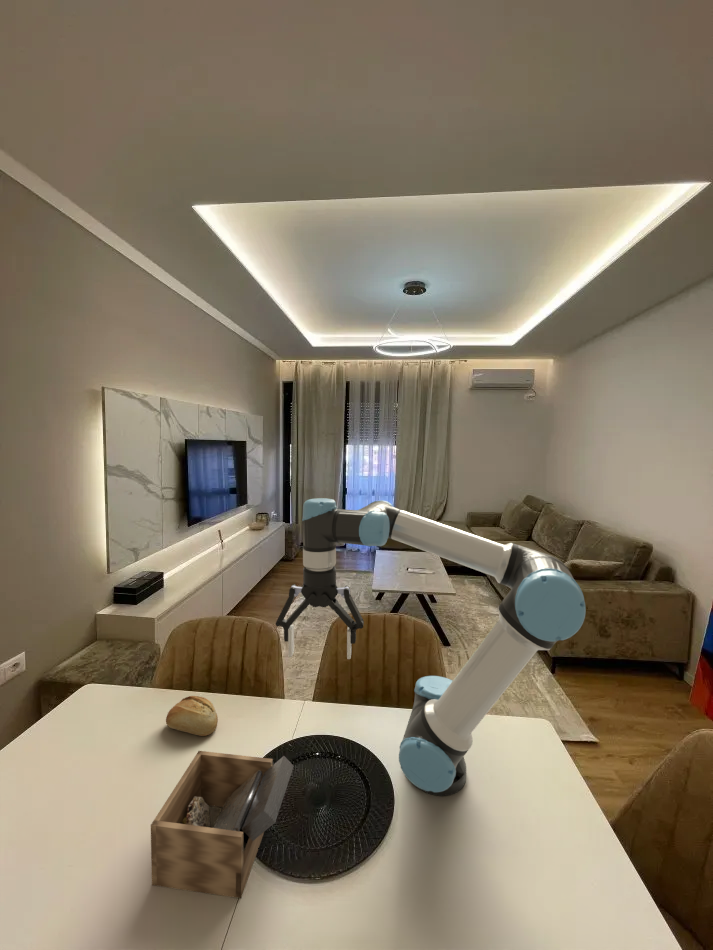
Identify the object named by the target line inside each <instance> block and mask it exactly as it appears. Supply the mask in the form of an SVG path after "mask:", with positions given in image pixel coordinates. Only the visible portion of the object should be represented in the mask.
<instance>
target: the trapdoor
mask: <svg viewBox="0 0 713 950" xmlns="http://www.w3.org/2000/svg"><path fill="white" fill-rule="evenodd" d="M294 768H295V767H294V764H292V762H291V761H290V760H289V759H288V758H287V757H286V756H285V755H283V756H282V757H281V758H280V759H278V760H277V761H276V762H275V763H274V764H273V766H271V767H270V768H269V769H268V770H267V771H266V772H265V773H264V775H263V778H262V780H261V783H260V785H259V788H258V790H257V792H256V789H257V787H258V784H259V782H260V779H261V777H262V774H263V773H262V771H260V770H258V771H257V772H256V773H255V774H254V775H253V776H251V777H250V778H249V779H248V780H247V781H246V782H245V783H243V784H242V785H241V786H240V787H239V788H238V789H236V790H235V791H234V792H233V793H232V794H231V795H230V796H228V798H227V800H226V802H225V804H224V806H223V807H221V811H220V812H219V815H218V816H217V818H216V822H215V823H214V826H213V827H212V828H217V829H225V830H232V831H240V830H242V832H243V833H245V834H246V836H248V839H249V838H250V839H251V840H252V841H254V840H255V839H256V838H257V837H258V836H260V835H261V834H262V833H263V832H264V833H265V831H267V830H268V829H270V828H271V826H273V825H274V824H275V823H276V821H277V818H278V815H279V812H280V809H281V806H282V802H283V800H284V797H285V793H286V792H287V787H288V784H289V781H290V779H291V775H292V773H293V769H294ZM255 792H256V795H255V797H254V800H253V802H252V805H251V807H250V810H248V809H249V806H250V804H251V801H252V799H253V796H254V794H255Z"/></svg>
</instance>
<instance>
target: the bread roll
mask: <svg viewBox="0 0 713 950" xmlns="http://www.w3.org/2000/svg"><path fill="white" fill-rule="evenodd" d="M218 721H219V719H218V714H217V711H216V709H215V706H214V704H213V703H212V701H210V700H209V699H207V698H206V697H203V696H199V695H198V696H197V695H190V696H189V695H188V696H186V697H184V698H182V699H181V700H180V701H179V702H177V703H175V705H174V706H172V707H171V709H169V711H168V712H167V715H166V717H165V722H166V725H167V726H168V728H170V729H174V730H175V731H179V732H185V733H189V734H192V735H195V736H201V737H206V736H209V735H212V734H213V733H214V732H215V731H216V730H217V728H218V727H217V726H218Z"/></svg>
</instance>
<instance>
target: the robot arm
mask: <svg viewBox="0 0 713 950" xmlns="http://www.w3.org/2000/svg"><path fill="white" fill-rule="evenodd" d="M301 521H302V538H303V539H302V541H303V542H302V543H303V544H302V565H303V566H304V567H303V568H302V581H303V582H302V583H303V584H302V586H297V585H296V584H295V583H294V584H293V583H292V584H291V587H290V588H289V589H288V590H289V591H288V597H287V600H286V601H285V603H284V606H283V607H282V610H281V612H280V613H279V616H278V617H277V620H276V621H275V626H276V627H282V628H283V641H284V642H286V643H288V647H287V648H288V655H287V656H288V658H293V654H294V652H295V624H293V623H295V621H296V620H297V618H298V617H300V615H301V614H302V613H303V612H305V610H306V609H307V608H308V607H309V606H311V607H312V608H319V607H320V608H327V607H328V606H329V608H330V609H331V610H332V611H334V612H335V613H336V615H337V616H338V617H339V619H341V620H342V622H343V623H344V624H345V625H346V626H347V629H346V630H347V631H346V658H347V660H351V658H352V645H353V644H354V645H355V644H356V641H357V630H358V629H363V628H364V622H365V621H364V619H363V617H362V615H361V612H360V610H359V609H358V607H357V605H356V603H355V601H354V598H353V597H352V595H351V588H350V586H349V585H348V584H347V585H345V586H343V587H338V586H337V568H336V564H337V544H347V545H355V546H356V545H357V546H366V547H382V546H385V545H386V543H387V541H388V539H391V540H393V541H396V542H399V543H403V544H405V545H408V546H411V547H413V548H416V549H418V550H421V551H424V552H427V553H429V554H432V555H434V556H437V557H440V558H443V559H444V560H445V559H446V560H448V561H451V562H454V563H457V564H458V565H461V566H465V567H467V568H470V569H473V570H475V571H478V572H481V573H483V574H486V575H488V576H492V577H493V578H494V579H495V580H496V582H497V583H498V584H500V585H503V586H506V587H508V588H509V589H510V590H509V592H508V593H507V595H506V596H505V597H504V598H503V599H502V601H501V603H500V604H499V605H498V606H497V611H498V618H499V619H498V620H497V621H496V623H495V624H494V626H493V627H492V628H491V630H490V631H489V632H488V633H487V635H486V636H485V637H484V639H483V640H482V642H480V644H479V645H478V647H477V648H476V650H475V651H474V652H473V654H472V655H471V656H470V657H469V659H468V660H467V661H466V663H465V664H464V665H463V667H462V668H461V670H459V671H458V674H457V675H456V676H455V677H454V679H450V678H447V677H445V676H441V675H440V676H439V675H426V676H422V677H420V678H418V679H417V681H416V682H415V685H414V686H415V687H414V690H413V691H414V702H413V706H412V709H411V713H410V715H409V719H408V722H407V725H406V729H405V732H404V735H403V737H402V741H401V742H400V744H399V753H398V762H399V765H400V769H401V772H402V774H403V775H404V776H405V777H406V778H407V780H409V782H410V783H412V784H413V785H414V786H415V787H416V788H417V789H418V790H420V791H422V792H424V793H426V794H430V795H433V796H441V797H443V796H445V797H446V796H451V795H453V794H456V793H458V792H460V791H461V790H462V789H463V787H464V786H465V784H466V780H467V763H466V760H465V755H466V754H467V753H468V751H470V749H471V747H472V745H473V734H472V733H473V731H474V730H475V729H476V728H477V726H478V725H479V724H480V723H481V722H482V720H483V719H484V718H485V716H486V715H487V714H488V713H489V711H490V710H491V709H492V707H494V705H495V704H496V703H497V702H498V700H499V699H500V698H501V696H502V695H503V694H504V692H506V690H507V689H508V688H509V687H510V686H511V684H512V683H513V682H514V681H515V679H516V678H517V677H518V675H519V674H520V673H521V671H522V670H523V669H524V668H525V666H526V665H527V664H528V663H529V662H530V660H531V659H532V658H533V657H534V655H535V654H536V653H537V652H538V651H550V650H551V649H552V648H553V647H554V645H555V644H557V642H558V641H564V640H567V639H570V638H572V637H573V636H574V635H575V634H576V633H578V632H579V630H580V629H581V627H582V626H583V624H584V622H585V618H586V613H587V612H586V609H587V608H586V607H587V606H586V602H585V597H584V593H583V591H582V589H581V587H580V585H579V584H578V582H576V580H575V579H574V577H573V574H572V573H571V571H570V570H569V567H568V566H567V565H566V564H565V563H564V562H563V561H561V560H560V559H558V558H557V557H555V556H553V555H551V554H548V553H545V552H542V551H539V550H536V549H533V548H529V547H526V546H523V545H519V544H516V543H514V542H509V543H506V544H503V543H500V542H496V541H493V540H491V539H488V538H484V537H482V536H479V535H476V534H473V533H470V532H468V531H464V530H462V529H460V528H455V527H453V526H450V525H447V524H443V523H441V522H437V521H435V520H433V519H429V518H426V517H423V516H420V515H418V514H414V513H411V512H410V511H406V510H402V509H400V508H398V507H394V506H393V505H392V503H390V502H389V501H387V500H374V501H372V502H370V503H369V504H367V505H366V506H363V507H361V508H359V509H341V508H337V502H336V501H335V499H332V498H326V497H324V498H323V497H319V498H317V497H316V498H310V499H307V500H305V502H303V506H302V519H301ZM299 594H301V595H302V596H303V598H304V599H303V601H302V602H301V603H300V604H299V605H298V607H296V609H295V610H294V611H293V612H292V614H290V616H289V617H288V618H287V619H285V617H286V615H287V613H288V611H289V609H290V607H291V606H292V604H293V601H294V599H295V597H299ZM338 594H339V595H340V596H341V598H344V602H345V603H346V605H347V607H348V610H349V611H350V614H351V616H350V615H349V613H348V612H347V610H345V609H344V607H343V606H342V605H341V604H340V602H339V600H338V598H336V597H337V595H338ZM352 617H353V618H352Z"/></svg>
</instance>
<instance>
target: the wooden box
mask: <svg viewBox="0 0 713 950" xmlns="http://www.w3.org/2000/svg"><path fill="white" fill-rule="evenodd" d="M273 760H274V759H273V758H267V757H258V756H257V757H256V756H251V755H250V756H249V755H241V754H231V753H222V752H214V751H206V750H198V751H197V753H196V754H195V756H194V757H193V759H192V760H191V762H190V763H189V765H188V767H187V768H186V770H185V771H184V773H183V775H181V777H180V779H179V780H178V782H177V784H176V785H175V787H174V788H173V790H172V791H171V793H170V795H169V796H168V797H167V798H166V800H165V802H164V804H163V806H162V807H161V808H160V810H159V812H158V813H157V814H156V816H155V818H154V819H153V821H152V822H151V824H150V855H151V856H150V858H151V862H150V863H151V867H150V868H151V886H157V887H161V888H162V887H163V888H170V889H176V890H182V891H189V892H196V893H197V892H198V893H203V894H207V895H208V894H209V895H216V896H222V897H230V898H236V899H242V897H243V894H244V892H245V889H246V886H247V883H248V880H249V877H250V874H251V871H252V868H253V866H254V863H255V860H256V857H257V853H258V852H259V849H258V848H260V846H261V843H262V839H263V837H264V833H265V831H264V832H263V833H262V834H261V835H260V836H258V837H257V838H256V839H255V840H254V841H252V840H251V839H250V838H249V837H248V840H247V843H246V845H245V847H244V831H240V830H239V831H232V830H225V829H217V828H213V827H210V826H209V827H202V826H194V825H187V824H182V821H183V819H184V818H185V817H187V808H188V806H189V804H190V802H191V801H192V800H193V798H194V797H195V796H196V797H202V798H203V799H204V802H205V803H206V804H208V806H209V807H217V808H218V807H219V808H223V806H224V804H225V802H226V800H227V798H228V796H230V795H231V794H232V793H233V792H234V791H235V790H236V789H238V788H239V787H240V786H241V785H242V784H243V783H245V782H246V781H247V780H248V779H249V778H250V777H251V776H253V775H254V774H255V773H256V772H257V771H258V770H260V771H262V773H263V774H262V777H261V779H260V782H259V784H258V787H257V789H256V792H257V790H258V788H259V785H260V783H261V780H262V778H263V775H264V773H265V772H266V771H267V770H268V769H269V768H270V767H271V766H273V765H274V764H273ZM256 792H255V794H254V796H253V799H252V801H251V804H250V806H249V809H248V811H249V810H250V807H251V805H252V802H253V800H254V797H255V795H256Z"/></svg>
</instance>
